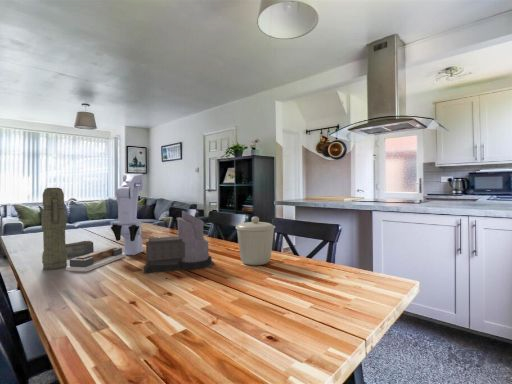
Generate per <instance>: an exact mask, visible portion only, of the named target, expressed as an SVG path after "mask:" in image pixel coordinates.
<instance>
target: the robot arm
mask: <svg viewBox="0 0 512 384" xmlns="http://www.w3.org/2000/svg"><path fill="white" fill-rule="evenodd" d="M122 176H123V177H122V183H121V185H120V186H119V187H117V188H116V189H115V196H116V202H117V211H118V212H117V215H118V217H117V220H112V221H110V222H109V224H110V225H109V226H110V229H111V231H112V232H113V234H114V238H115V241H116V242H119V241H121V239H122V238H123V251H122V253H124V254H125V256H136V255H137V254H140V253H142V252H144V251H145V250H144V249H143V238H142V236H141V235H142V230H143V228H142V221H141V220H140V219H138V218H137V217H138V216H137V215H138V214H137V213H138V202H139V195H140V194H139V193H140V192H141V191H143V189H144V188H143V187H144V175H143V173H123V175H122ZM121 237H122V238H121Z"/></svg>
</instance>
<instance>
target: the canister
mask: <svg viewBox="0 0 512 384" xmlns="http://www.w3.org/2000/svg"><path fill="white" fill-rule="evenodd" d="M275 228H276V226H275V225H274V224H272V223H270V222H264V221H260V218H259V216H252V217H251V221H247V222H242V223H240V224H237V225H236V226H235V229H236V233H237V242H238V251H239V256H240V260H241V261H242V263H243V264H245V265H248V266H263V265H266V264H268V263H270V260H271V257H272V252H273V251H272V249H273V242H274V241H273V240H274V231H275Z"/></svg>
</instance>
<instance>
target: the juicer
mask: <svg viewBox="0 0 512 384" xmlns="http://www.w3.org/2000/svg"><path fill="white" fill-rule="evenodd" d="M204 225H205V222H204V221H203V220H201V219H200V218H197V217H195V216H193V215H192V214H190V213H188V212H186V211H185V210H181V217H177V235H175V236H165V237H164V236H163V237H150V238H148V241H146V242H145V250H146V252H145V254H146V256H145V257H146V258H145V260H146V261H147V262H146V264H145V265H143V275H150V274H157V273H164V272H174V271H175V272H177V271H195V270H196V271H197V269H198V270H202V269H207V268H212V267H213V266H214V265H215V262H214V261H213V260H212V256H211V255H209V254H210V253H209V241H208V240H207V239H205V238H204Z"/></svg>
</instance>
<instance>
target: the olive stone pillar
mask: <svg viewBox="0 0 512 384" xmlns="http://www.w3.org/2000/svg"><path fill="white" fill-rule="evenodd" d="M64 205H65V194H64V191H63V188H60V187H46V188H44V190H43V192H42V206H43V209H42V214H41V216H40V217H41V220H40V221H41V229H42V235H43V252H42V257H41V259H42V262H41V263H42V265H43V266H42V269H43V270H44V271H52V270H53V271H55V270H60V269H62V268H63V269H64V268H66V267H67V266H68V257H67V250H66V244H67V243H66V227H67V214H66V211H65V206H64Z"/></svg>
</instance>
